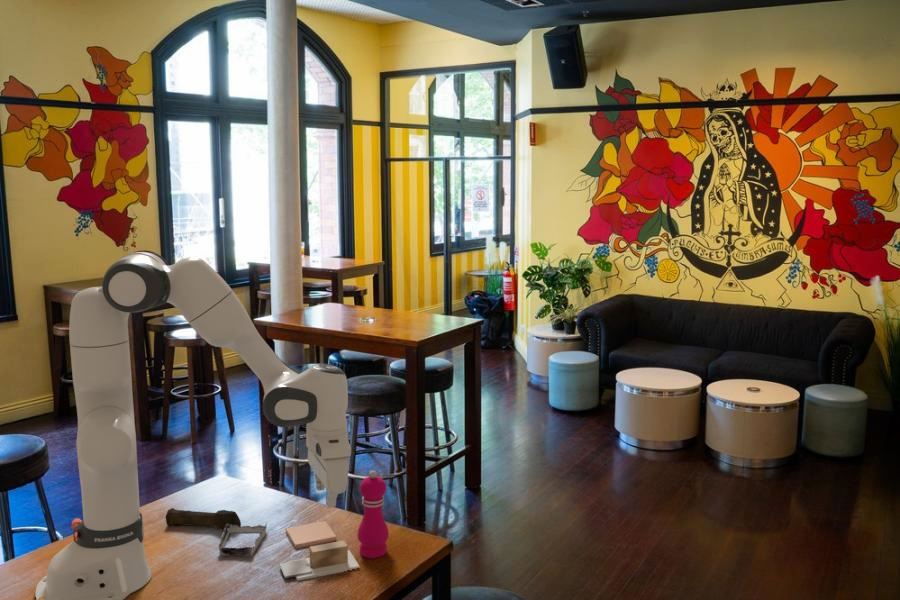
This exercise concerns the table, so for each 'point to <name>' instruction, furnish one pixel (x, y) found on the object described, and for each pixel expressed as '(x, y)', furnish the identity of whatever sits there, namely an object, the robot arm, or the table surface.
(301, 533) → the tile
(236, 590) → the table surface
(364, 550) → the pepper mill
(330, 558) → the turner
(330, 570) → the pad
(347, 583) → the table surface
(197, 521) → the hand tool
